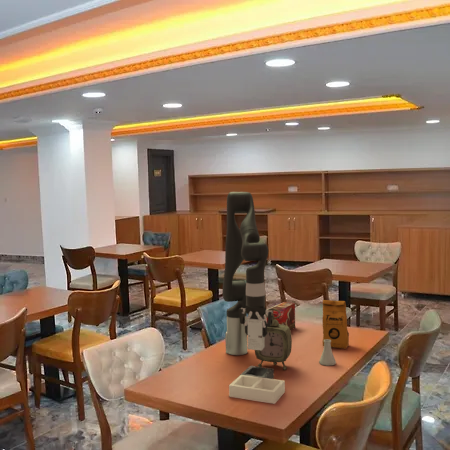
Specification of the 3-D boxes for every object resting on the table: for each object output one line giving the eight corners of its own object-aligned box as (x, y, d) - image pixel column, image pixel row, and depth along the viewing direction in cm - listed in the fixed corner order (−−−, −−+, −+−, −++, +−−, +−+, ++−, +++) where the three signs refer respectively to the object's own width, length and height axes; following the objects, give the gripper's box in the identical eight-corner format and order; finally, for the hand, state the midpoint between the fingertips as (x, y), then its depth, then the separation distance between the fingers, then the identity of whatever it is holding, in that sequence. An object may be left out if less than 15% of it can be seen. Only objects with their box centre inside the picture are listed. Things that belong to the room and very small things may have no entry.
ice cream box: (284, 326, 288) (284, 302, 286) (295, 327, 284) (294, 303, 283) (266, 335, 271) (265, 310, 270) (277, 337, 267) (277, 311, 266)
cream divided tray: (229, 396, 195) (228, 385, 195) (241, 385, 205) (241, 374, 205) (274, 403, 188) (274, 392, 187) (284, 391, 198) (284, 380, 198)
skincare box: (247, 349, 208) (246, 319, 207) (250, 346, 213) (249, 316, 212) (262, 350, 207) (262, 320, 205) (265, 347, 211) (264, 317, 210)
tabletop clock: (254, 368, 224) (253, 310, 222) (260, 361, 232) (259, 305, 230) (288, 371, 219) (287, 312, 217) (293, 364, 227) (292, 307, 225)
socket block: (240, 383, 208) (240, 374, 207) (250, 373, 218) (250, 365, 217) (264, 386, 203) (264, 378, 203) (273, 377, 213) (273, 368, 213)
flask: (336, 366, 224) (336, 343, 223) (318, 365, 225) (318, 342, 224) (336, 360, 231) (335, 338, 230) (319, 360, 232) (318, 337, 231)
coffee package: (347, 351, 244) (346, 303, 242) (320, 348, 248) (319, 301, 247) (350, 344, 253) (350, 299, 251) (324, 342, 258) (324, 297, 256)
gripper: (234, 294, 207) (235, 336, 209) (269, 297, 201) (270, 340, 203) (242, 290, 214) (243, 331, 216) (276, 292, 208) (276, 334, 210)
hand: (256, 335), depth 209 cm, fingers closed on skincare box, 6 cm apart
